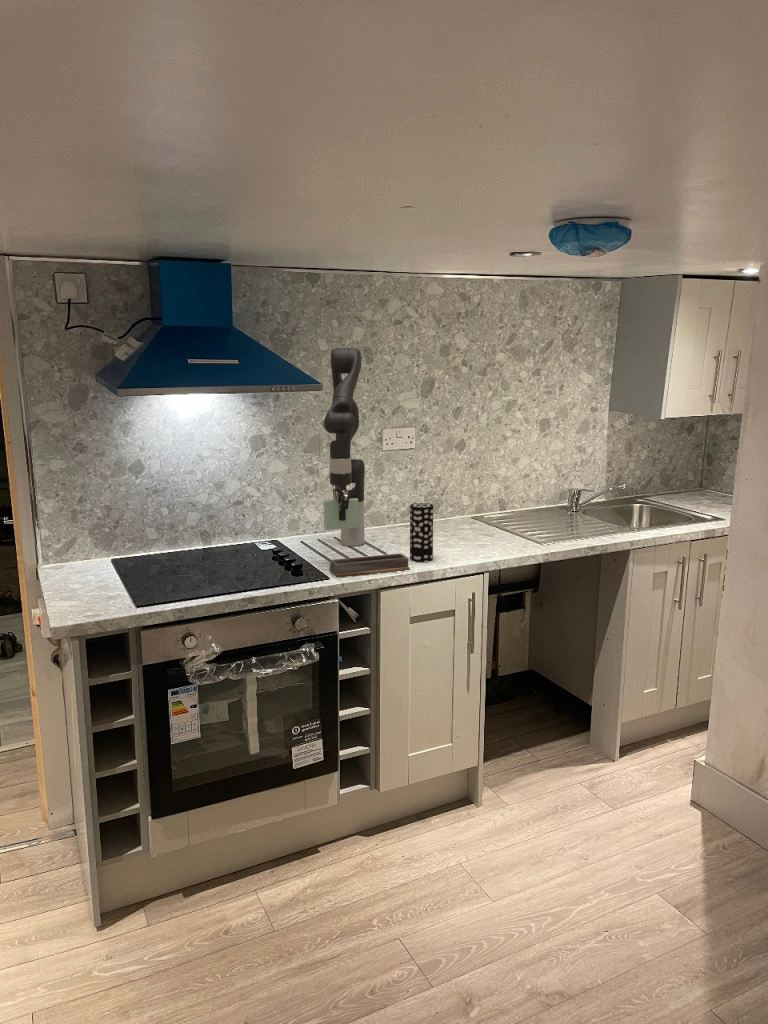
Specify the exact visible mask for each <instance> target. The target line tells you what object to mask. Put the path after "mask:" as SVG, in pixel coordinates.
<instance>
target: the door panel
mask: <svg viewBox="0 0 768 1024" xmlns="http://www.w3.org/2000/svg"><path fill="white" fill-rule="evenodd" d="M322 501H323V529H324V530H325V531H334V530H341V529H346V528H358V527H359V500H358V499H357V498H353V499H349V504H348V509H346V520H345V521H340V520H339V504H338V503H337V500H334V499H330V500H329V499H328V500H326V499H325V500H322ZM339 501H341V500H339ZM343 506H344V505H343Z"/></svg>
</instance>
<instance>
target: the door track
mask: <svg viewBox="0 0 768 1024" xmlns="http://www.w3.org/2000/svg"><path fill="white" fill-rule="evenodd" d="M328 570H329V572H330V573H331V574H332V575H333V574H334V575H335V576H336V577H342V578H347V577H346V576H352V577H360V576H359V575H362V576H371V575H370V574H372V575H378V574H377V573H382V574H388V573H387V572H392V573H398V572H397V571H401V572H406V571H405V570H411V569H410V566H409V558H408V557H407V556H406V555H404V554H403V553H400V552H398V553H390V554H380V555H370V556H369V555H368V556H367V555H366V556H359V557H348V558H347V557H346V558H337V559H330V560H329V568H328ZM334 575H333V576H334ZM335 576H334V577H335Z"/></svg>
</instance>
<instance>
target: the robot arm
mask: <svg viewBox="0 0 768 1024" xmlns="http://www.w3.org/2000/svg"><path fill="white" fill-rule="evenodd" d="M330 368H331V369H330V370H331V371H330V372H331V380H332V386H333V395H332V401H331V405H330V407H329V409H328V411H327V413H326V414H325V417H324V419H323V428H324V430H325V431H326V432H327V433H328V434H335V440H333V441H331V442H330V443H329V484H330V485H332V486H334V488H332V496H333V500H337V503H338V504H339V520H340V521H345V520H346V509H348V504H349V499H353V498H357V499H358V500H359V527H358V528H346V529H340V545H342V546H346V547H359V545H360V546H363V545H365V474H366V473H365V472H366V466H365V462H364V460H363V459H358V458H351V444H352V443H351V442H352V440H353V438H354V436H355V435H356V433H357V432H358V429H359V426H360V416H359V415H360V412H359V407H358V404H357V403H356V400H355V399H354V393H355V389H356V386H357V383H358V380H359V375H360V373H361V369H362V354H361V351H360V349H359V348H357V347H334V348H333V349H331V352H330ZM343 374H345V375H346V374H347V375H346V377H344V379H343V377H342V375H343ZM352 484H354V487H353V488H351V489H349V490H348V489H347V487H348V486H349V485H352ZM339 500H341V501H339ZM343 505H344V506H343ZM362 544H363V545H362Z"/></svg>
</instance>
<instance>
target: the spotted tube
mask: <svg viewBox="0 0 768 1024" xmlns="http://www.w3.org/2000/svg"><path fill="white" fill-rule="evenodd" d="M433 559H434V504H432V503H426V502H416V503H412V504H409V560H410V561H411V562H413V561H414V562H413V563H421V562H423V563H429V562H428V561H430V562H433Z"/></svg>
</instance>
